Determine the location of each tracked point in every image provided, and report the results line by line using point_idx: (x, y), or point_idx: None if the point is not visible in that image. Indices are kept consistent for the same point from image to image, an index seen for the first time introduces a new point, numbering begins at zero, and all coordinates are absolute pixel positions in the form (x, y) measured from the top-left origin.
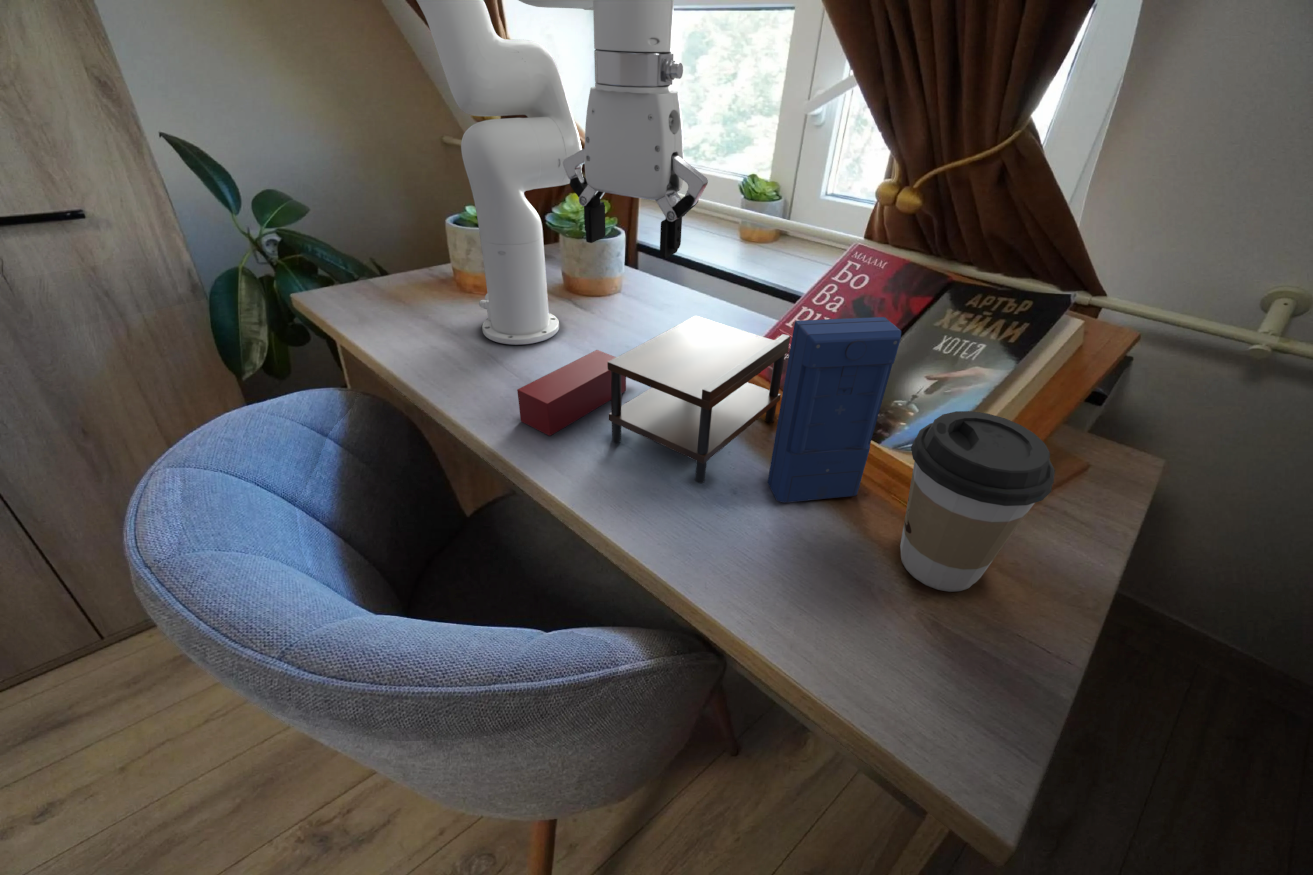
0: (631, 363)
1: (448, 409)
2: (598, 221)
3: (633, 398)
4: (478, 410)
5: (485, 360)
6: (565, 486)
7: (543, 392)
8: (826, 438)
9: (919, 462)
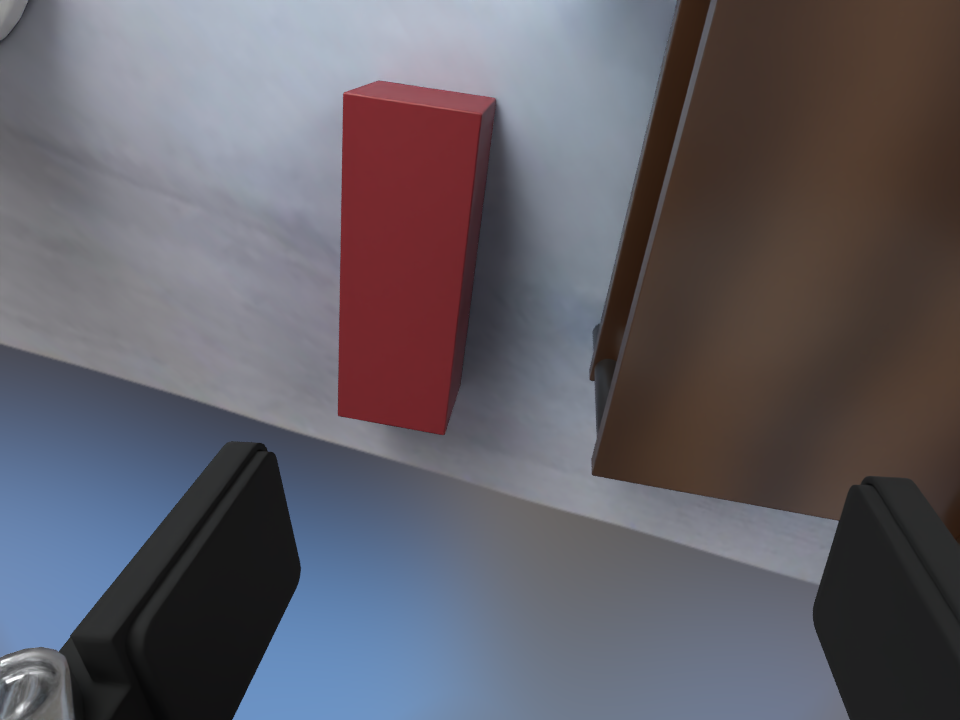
0: (666, 455)
1: (207, 399)
2: (234, 611)
3: (613, 286)
4: (257, 375)
5: (46, 171)
6: (591, 495)
7: (400, 401)
8: None
9: None
